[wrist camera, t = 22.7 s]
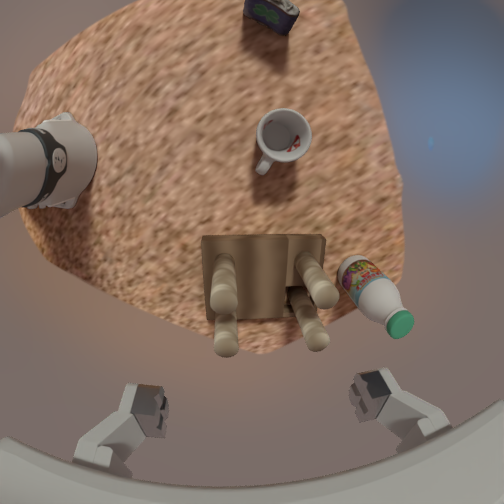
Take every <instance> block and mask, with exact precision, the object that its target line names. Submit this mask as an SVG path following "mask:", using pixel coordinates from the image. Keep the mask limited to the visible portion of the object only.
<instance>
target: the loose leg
mask: <svg viewBox="0 0 504 504" xmlns="http://www.w3.org/2000/svg"><path fill="white" fill-rule="evenodd" d="M287 295H288V298H289V300H290V303H291V305H292V308H293V310H294V313H295V316H296V318H297V321H298V323H299V326H300V328H301V331H302V334H303V336H304V339H305V341H306V344H307V347H308V349H309V350H311V351H313V352H317V351H321V350H323V349H325V348H326V347H327V346H328V345H329V342H330V338H329V336H328V334H327V332H326V330H325V328H324V326H323V324H322V322H321V320H320V318H319V316H318V314H317V312H316V310H315V308H314V306H313V305H312V303H311V301H310V299H309V297H308V295H307V293H306V291H305V289H304V287H303V286H291V287H289V289H288V291H287Z"/></svg>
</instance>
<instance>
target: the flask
mask: <svg viewBox="0 0 504 504" xmlns="http://www.w3.org/2000/svg"><path fill="white" fill-rule="evenodd" d="M243 13H244V15H245V16H246V17H248V18H250V19H253V20H255V21H257V22H258V23H259V24H261V25H265V26H267V27H268V28H270V29H272V30H273V31H274V32H276V33H277V34H279V35H285V36H286V34H288V33H289V31H290V30H291V28H292V26H293V25H294V23H295V21H296V19H297V18H298V16H299V13H300V11H299V9H298V7H296V6H295V5H294V4H292V3H291V2H290V1H289V0H245V3H244V9H243Z"/></svg>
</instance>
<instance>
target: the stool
mask: <svg viewBox="0 0 504 504" xmlns="http://www.w3.org/2000/svg"><path fill="white" fill-rule="evenodd" d="M325 245H326V239H325V238H324V237H323V236H322V235H321V234H264V235H206V236H202V240H201V247H202V264H203V278H204V292H205V304H206V316H207V320H215V334H214V351H215V353H216V354H217V355H219V356H221V357H231V356H234V355H236V354H237V352H238V350H239V347H238V333H237V319H261V318H281V317H296V316H295V313H294V310H293V308H292V305H291V304H290V305H284V300H285V288H286V286H303V285H306V287H307V289H308V291H309V293H310V301H311V303H312V305H313V306H314V308H315V310H316V312H317V307H318V308H320V309H329V308H332V307H333V306H334V305H336V303H337V302H338V300H339V292H338V290H337V289H336V287H335V286H334V285H333V283H332V282H331V280H330V279H329V278H328V276H327V275H326V273H325V272H324V271H323V263H324V254H325Z"/></svg>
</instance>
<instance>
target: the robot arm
mask: <svg viewBox="0 0 504 504" xmlns="http://www.w3.org/2000/svg"><path fill="white" fill-rule="evenodd" d="M96 164H97V149H96V144H95V141H94V139H93V137H92V135H91V133H90V132H89V131H88V130H87V129H86V128H85V127H84V126H82V125H81V124H79V123H77V122H76V121H75V119H74V118H73V116H72V114H71V113H69V112H64V113H62V114H60V115H58V116H56V117H54V118H53V119H51V120H45V121H43V123H42V124H40V125H38V126H37V127H35V128H28V129H24V130H21V131H19V132H13V133H0V218H1V217H3V216H5V215H6V214H8V213H10V212H12V211H14V210H16V209H18V208H20V207H27V208H28V209H35V208H37V206H38V205H39V208H46V206H48V207H59V208H66V209H70V208H73V207H74V206H75V204H76V202H77V199H78V197H79V195H80V193H81V192H82V191H83V190H84V189H85V188H86V187H87V186H88V184H89V183H90V181H91V179H92V177H93V175H94V172H95V169H96ZM64 202H66V203H64ZM353 380H354V383H353V384H352V385H351V386H350V390H349V398H350V401H351V404H352V405H353V406H355V407H356V410H355V413H356V416H357V418H358V420H359V422H365V421H368V420H373V419H376V420H377V421H378V422H380V423H381V424H382V425H384V426H385V427H386V428H387V429H389V430H391V432H393V433H394V434H395V435H397V436H398V437H400V438H401V439H402V442H401V443H400V444H399V445H398V446H397V448H396V451H397V452H398V454H396V455H393V456H390V457H387V458H385V459H382V460H379V461H376V462H373V463H370V464H367V465H363V466H360V467H357V468H353V469H350V470H346V471H342V472H338V473H334V474H329V475H325V476H320V477H315V478H310V479H304V480H299V481H292V482H284V483H276V484H266V485H254V486H232V487H231V486H230V487H212V486H188V485H176V484H166V483H158V482H151V481H145V480H139V479H133V478H132V472H131V471H130V469H129V468H127V466H126V465H125V464H124V462H125V461H126V459H127V458H128V457H129V456H130V455H131V454H132V453H133V452H134V451H135V450H136V448H137V447H138V446H139V445H140V444H141V443H142V442H143V441H144V439H145V438H146V437H155V438H165V434H166V427H167V426H166V423H165V420H166V419H167V418H168V412H169V408H168V407H169V405H168V401H167V398H166V397H165V396H164V389H163V387H162V386H153V385H143V384H134V383H128V384H127V385H126V388H125V390H124V393H123V397H122V400H121V403H120V406H119V409H118V412H113V413H112V414H111V415H110V416H108V417H107V418H106V419H105V420H103V421H102V422H101V423H99V424H98V425H97V426H96V427H94V428H93V429H92V430H90V431H89V432H88V433H87V434H85V435H84V436H83V437H81V438H80V439H79V442H78V445H77V448H76V451H75V454H74V457H73V461H72V462H69V461H66V460H63V459H61V458H58V457H55V456H53V455H50V454H48V453H45V452H43V451H40V450H38V449H36V448H33V447H32V446H29V445H27V444H25V443H23V442H21V441H19V440H17V439H15V438H13V437H5V438H2V439H0V504H504V400H497V401H495V402H494V403H492V404H491V405H489V406H488V407H486V408H485V409H484V410H482V411H480V412H479V413H477V414H476V415H474V416H473V417H471V418H469V419H468V420H466V421H464V422H463V423H461V424H459V425H457V426H456V427H454V428H453V427H452V426H451V424H450V422H449V421H448V419H447V418H446V416H445V414H444V413H443V411H442V410H441V409H439V408H437V407H435V406H433V405H431V404H430V403H427V402H426V401H424V400H422V399H420V398H418V397H416V396H414V395H412V394H410V393H409V392H407V391H405V390H404V391H402V390H401V388H400V387H399V385H398V384H397V382H396V380H395V379H394V377H393V376H392V374H391V373H390V371H389V369H388V368H386V367H384V368H380V369H376V370H371V371H366V372H361V373H357V374H356V375H355V376H354V379H353Z"/></svg>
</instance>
